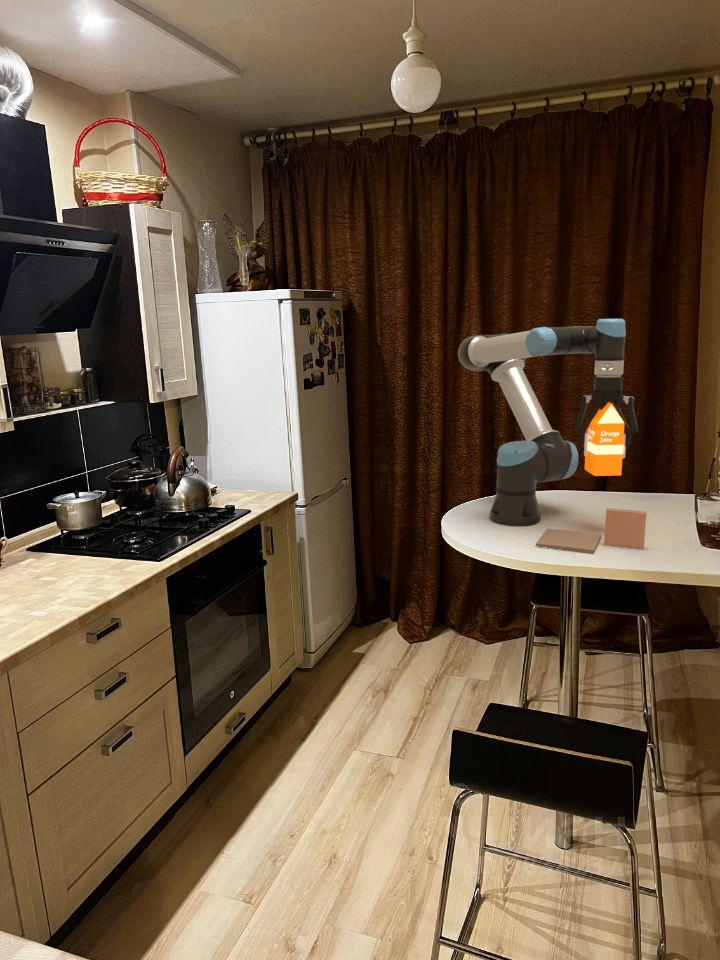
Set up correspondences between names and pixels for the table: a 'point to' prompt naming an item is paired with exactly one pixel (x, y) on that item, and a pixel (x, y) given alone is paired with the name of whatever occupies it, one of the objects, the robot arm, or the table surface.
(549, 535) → the cork mat
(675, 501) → the table surface
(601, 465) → the orange juice
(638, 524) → the tile
